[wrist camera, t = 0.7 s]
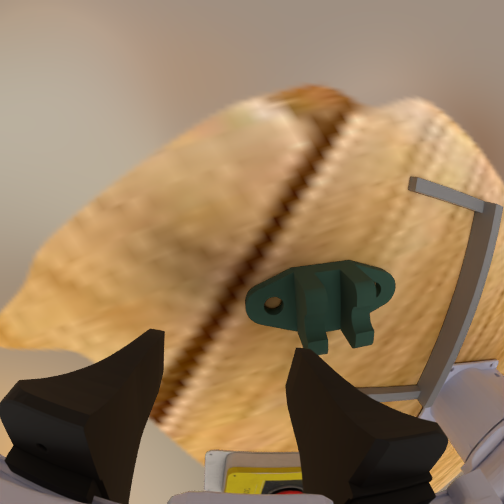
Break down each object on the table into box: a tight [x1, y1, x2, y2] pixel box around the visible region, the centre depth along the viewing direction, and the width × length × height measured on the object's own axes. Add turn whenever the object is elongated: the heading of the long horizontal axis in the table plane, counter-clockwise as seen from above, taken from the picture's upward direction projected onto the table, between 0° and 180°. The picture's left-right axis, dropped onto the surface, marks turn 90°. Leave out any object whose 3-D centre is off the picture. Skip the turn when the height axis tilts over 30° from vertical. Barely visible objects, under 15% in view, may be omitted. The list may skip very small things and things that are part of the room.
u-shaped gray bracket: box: [357, 177, 503, 408], centre depth 21 cm, size 8×19×2 cm, turn 171°
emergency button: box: [204, 450, 303, 494], centre depth 25 cm, size 9×4×15 cm
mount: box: [245, 260, 395, 355], centre depth 19 cm, size 11×4×5 cm, turn 96°
